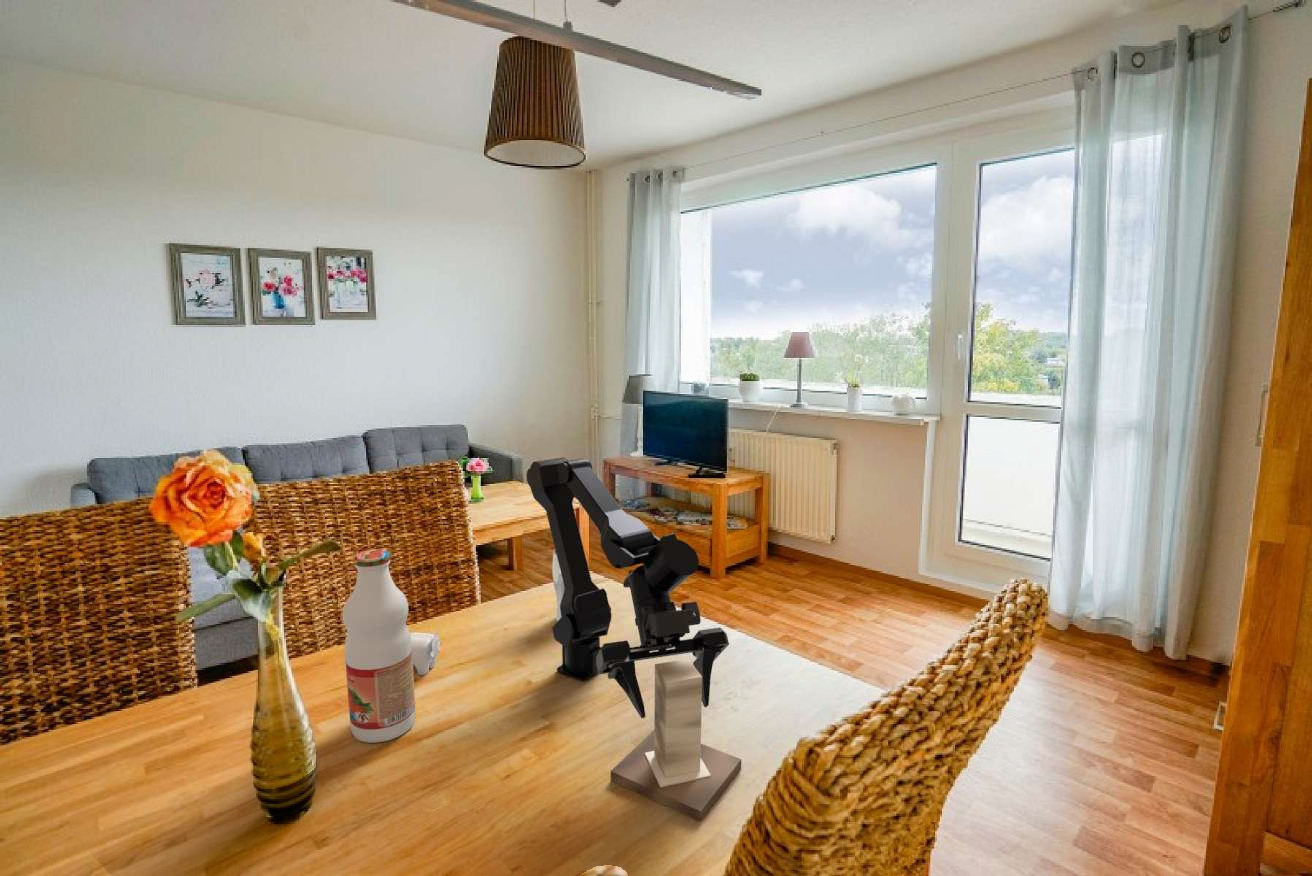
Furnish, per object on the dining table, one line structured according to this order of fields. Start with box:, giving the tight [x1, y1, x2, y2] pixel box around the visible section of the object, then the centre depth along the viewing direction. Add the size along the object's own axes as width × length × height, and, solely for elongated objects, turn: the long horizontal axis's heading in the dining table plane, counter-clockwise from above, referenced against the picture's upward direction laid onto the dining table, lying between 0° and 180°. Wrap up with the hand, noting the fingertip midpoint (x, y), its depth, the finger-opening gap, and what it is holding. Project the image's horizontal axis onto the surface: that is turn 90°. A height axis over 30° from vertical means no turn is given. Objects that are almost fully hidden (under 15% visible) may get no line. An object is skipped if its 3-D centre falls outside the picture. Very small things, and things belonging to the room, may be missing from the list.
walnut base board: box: [610, 729, 742, 822], centre depth 92 cm, size 14×12×2 cm
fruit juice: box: [342, 548, 417, 744], centre depth 101 cm, size 9×9×28 cm
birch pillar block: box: [653, 658, 703, 778], centre depth 91 cm, size 5×5×14 cm
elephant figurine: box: [410, 631, 443, 676], centre depth 120 cm, size 8×10×7 cm
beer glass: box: [551, 549, 586, 623], centre depth 139 cm, size 7×7×15 cm
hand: (675, 712), depth 91 cm, fingers open, 9 cm apart
